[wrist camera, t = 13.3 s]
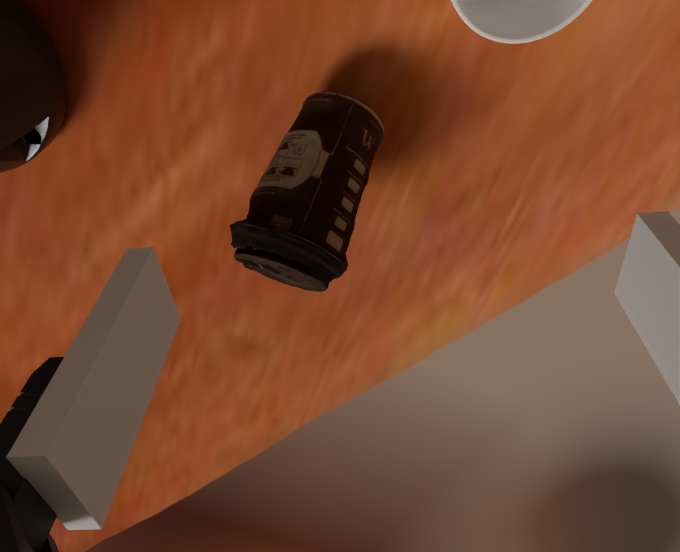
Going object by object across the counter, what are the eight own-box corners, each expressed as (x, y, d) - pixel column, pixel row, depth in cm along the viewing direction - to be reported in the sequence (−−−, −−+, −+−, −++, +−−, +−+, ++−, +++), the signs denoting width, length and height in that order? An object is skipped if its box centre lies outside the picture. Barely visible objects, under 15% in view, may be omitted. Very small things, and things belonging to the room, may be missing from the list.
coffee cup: (274, 103, 42) (208, 253, 39) (313, 59, 34) (235, 242, 32) (365, 157, 45) (310, 299, 42) (419, 127, 37) (356, 298, 35)
